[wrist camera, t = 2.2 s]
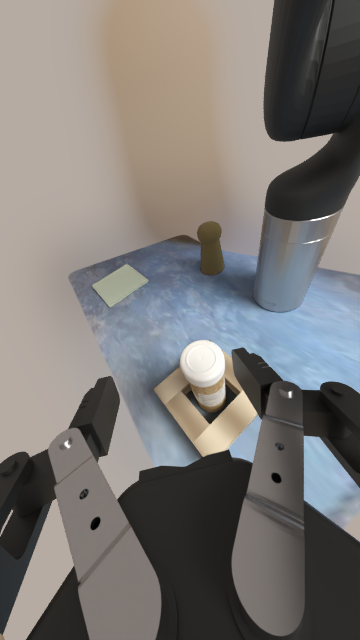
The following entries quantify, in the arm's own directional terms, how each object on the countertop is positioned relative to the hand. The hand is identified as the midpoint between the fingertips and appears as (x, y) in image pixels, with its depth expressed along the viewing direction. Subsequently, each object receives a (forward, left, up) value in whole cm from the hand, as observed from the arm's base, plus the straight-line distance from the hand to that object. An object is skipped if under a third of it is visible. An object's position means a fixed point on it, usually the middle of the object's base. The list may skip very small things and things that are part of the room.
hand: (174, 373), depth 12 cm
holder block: (-3, -2, -19) cm, 19 cm away
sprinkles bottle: (-3, -2, -19) cm, 20 cm away
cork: (-26, -24, -19) cm, 41 cm away
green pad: (-6, -40, -19) cm, 45 cm away
